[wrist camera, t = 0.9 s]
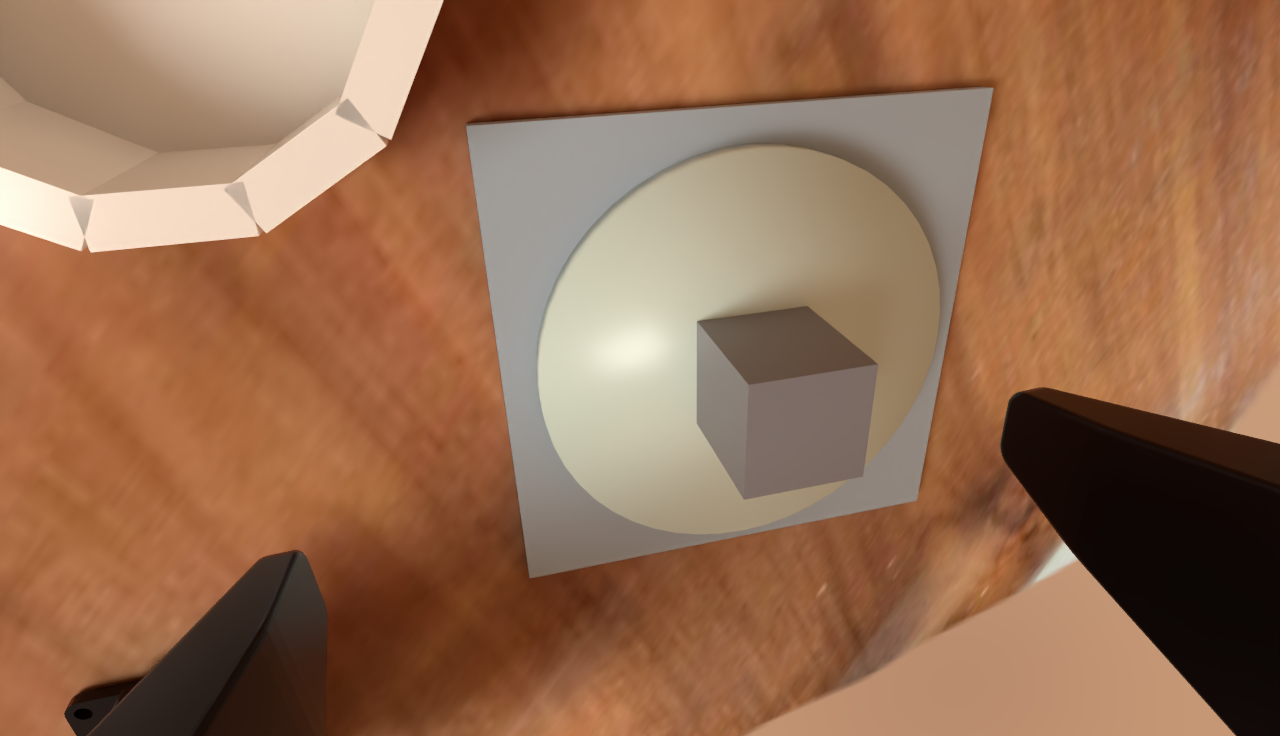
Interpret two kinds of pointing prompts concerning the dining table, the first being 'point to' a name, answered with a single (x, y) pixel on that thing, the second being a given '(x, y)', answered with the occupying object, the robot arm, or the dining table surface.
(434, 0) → the bowl
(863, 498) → the mat
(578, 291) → the cover
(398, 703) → the dining table surface
